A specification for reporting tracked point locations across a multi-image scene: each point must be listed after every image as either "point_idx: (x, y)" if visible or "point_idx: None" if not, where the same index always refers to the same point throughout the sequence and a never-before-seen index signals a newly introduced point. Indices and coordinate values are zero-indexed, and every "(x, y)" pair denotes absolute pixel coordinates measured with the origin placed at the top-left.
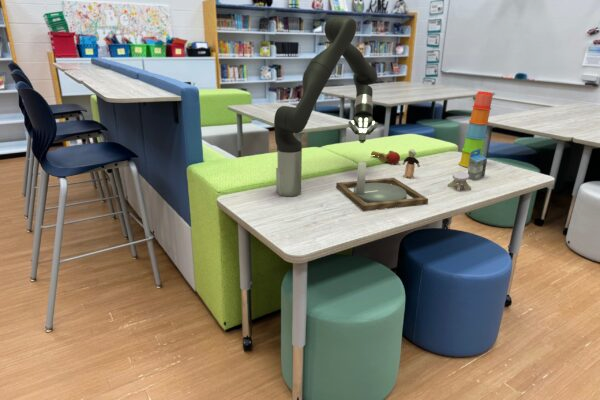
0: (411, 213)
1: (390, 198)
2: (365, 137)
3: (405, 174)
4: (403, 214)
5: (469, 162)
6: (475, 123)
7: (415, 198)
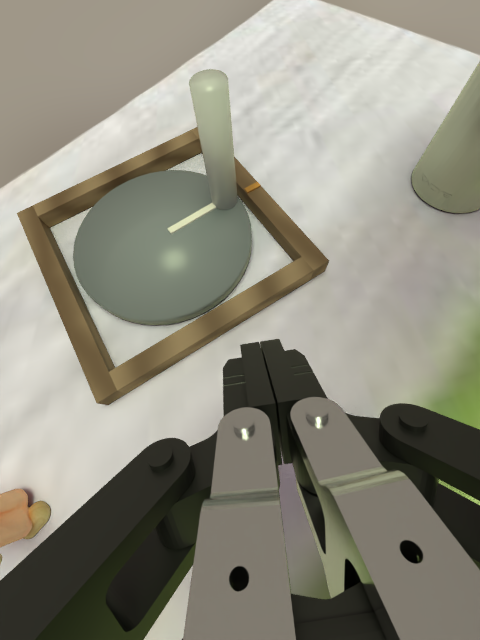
0: (88, 159)
1: (131, 189)
2: (225, 379)
3: (28, 518)
4: (109, 149)
5: None
6: None
7: (55, 205)
